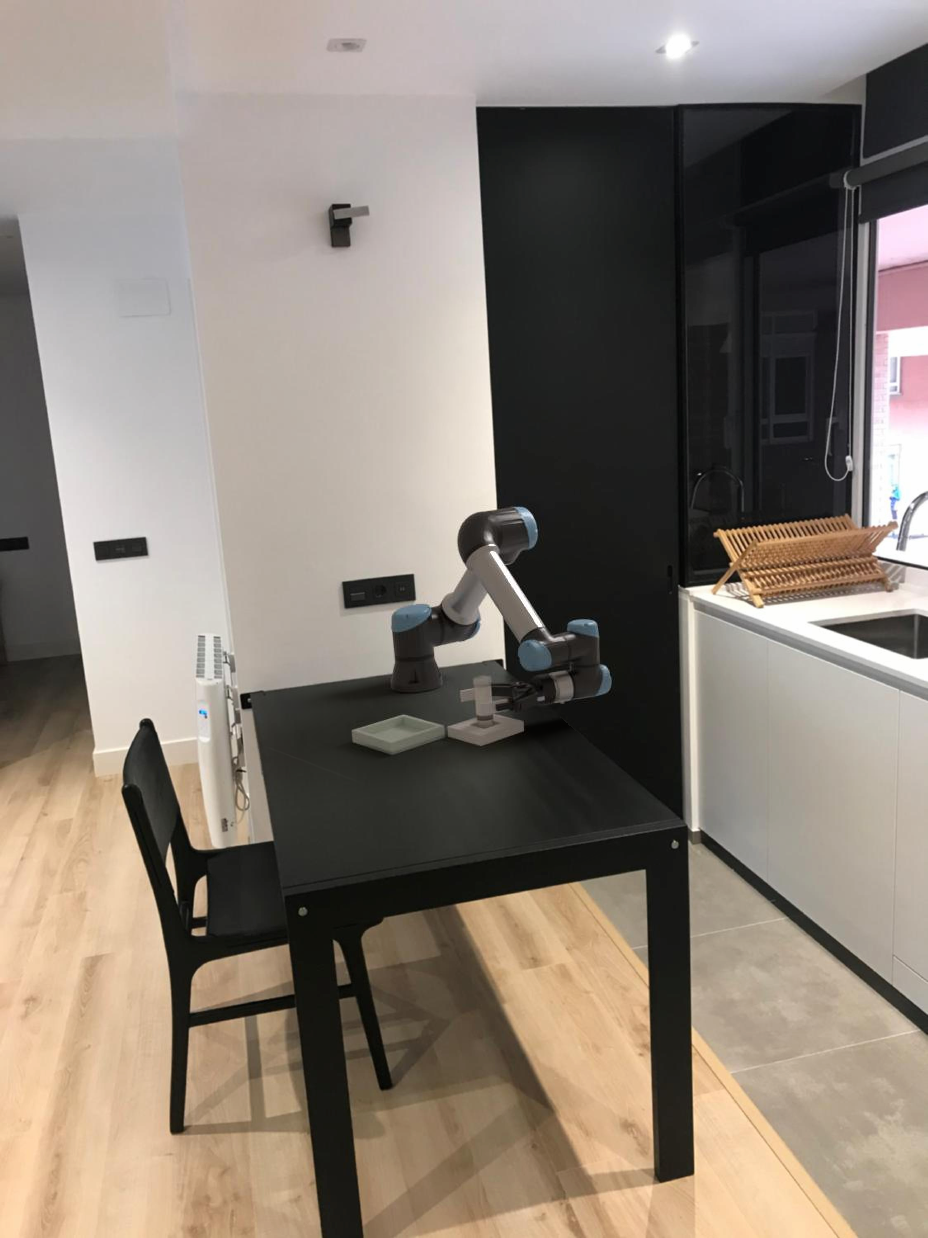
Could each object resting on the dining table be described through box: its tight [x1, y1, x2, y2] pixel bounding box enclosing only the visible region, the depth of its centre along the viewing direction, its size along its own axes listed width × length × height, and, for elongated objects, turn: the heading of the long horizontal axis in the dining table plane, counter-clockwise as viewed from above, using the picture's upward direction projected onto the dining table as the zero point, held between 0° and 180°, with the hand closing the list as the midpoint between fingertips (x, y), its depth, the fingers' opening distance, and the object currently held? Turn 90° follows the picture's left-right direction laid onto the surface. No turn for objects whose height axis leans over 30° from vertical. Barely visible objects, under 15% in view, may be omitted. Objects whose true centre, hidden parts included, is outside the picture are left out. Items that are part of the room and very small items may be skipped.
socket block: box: [446, 713, 525, 747], centre depth 243 cm, size 14×12×2 cm
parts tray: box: [351, 714, 446, 756], centre depth 244 cm, size 16×16×3 cm
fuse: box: [472, 675, 494, 729], centre depth 242 cm, size 4×4×14 cm
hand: (470, 702), depth 241 cm, fingers open, 13 cm apart
